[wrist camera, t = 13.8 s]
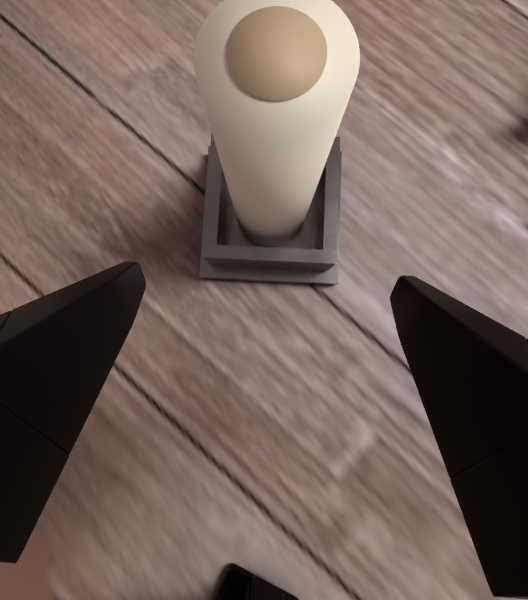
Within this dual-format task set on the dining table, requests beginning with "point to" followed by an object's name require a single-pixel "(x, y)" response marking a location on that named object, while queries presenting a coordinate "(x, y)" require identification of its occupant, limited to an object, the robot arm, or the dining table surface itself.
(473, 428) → the robot arm
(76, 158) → the dining table surface
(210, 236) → the holder
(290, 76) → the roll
